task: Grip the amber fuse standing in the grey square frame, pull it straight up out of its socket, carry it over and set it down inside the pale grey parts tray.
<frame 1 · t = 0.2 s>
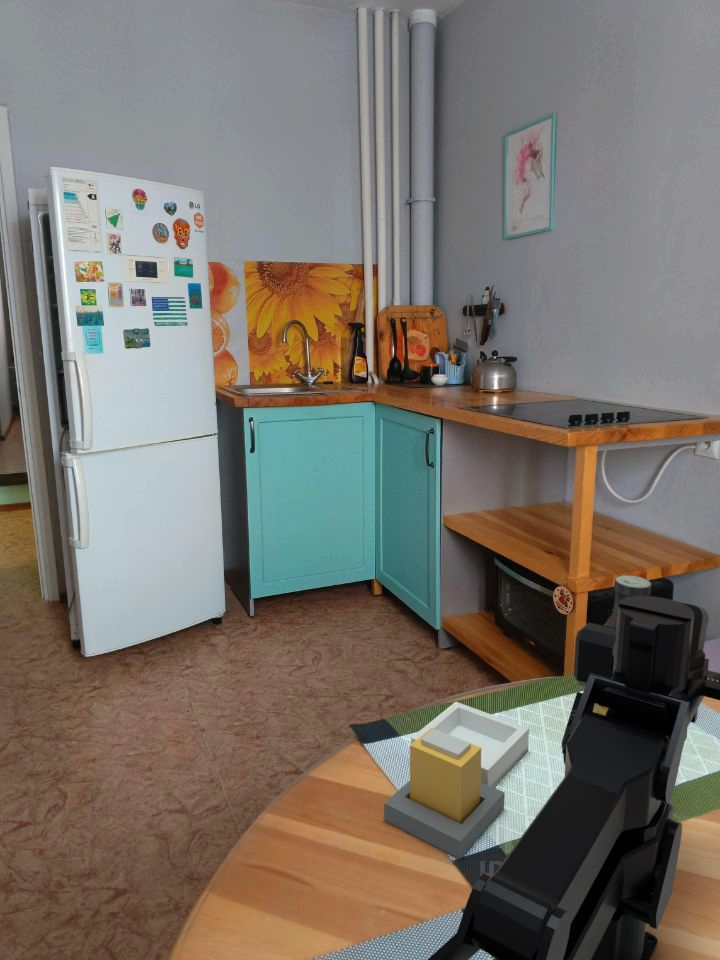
hand: (695, 648, 74), 17 cm above the table, tool horizontal, fingers open, 9 cm apart
sauce bottle: (617, 732, 89), on the table
fuse: (444, 815, 74), on the table
grey square frame: (444, 814, 74), on the table
parts tray: (470, 755, 84), on the table
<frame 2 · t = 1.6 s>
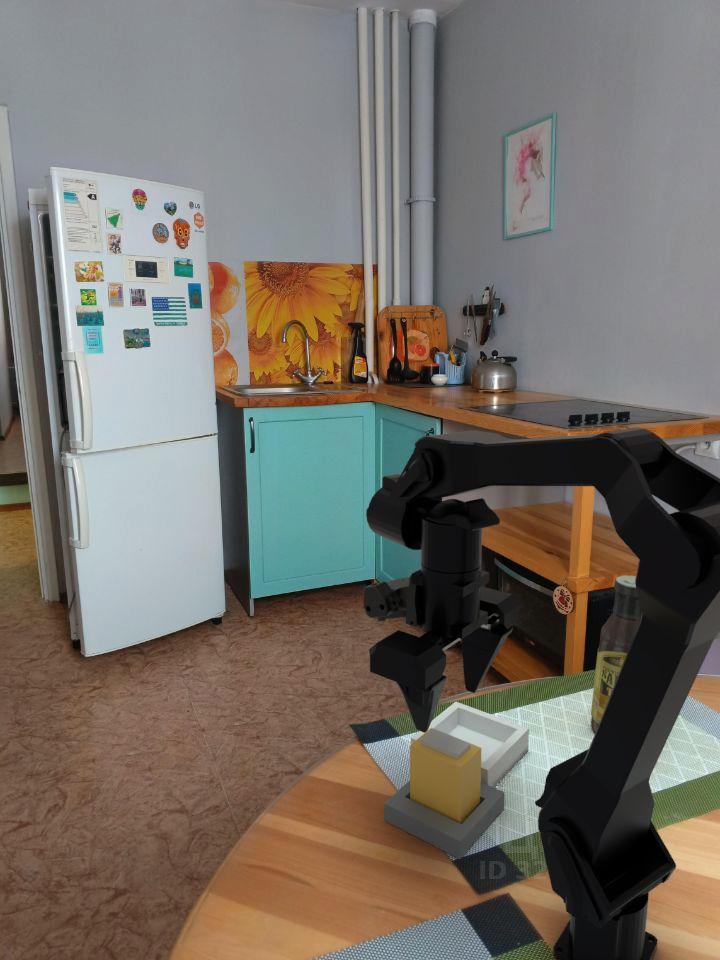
hand: (447, 709, 72), 12 cm above the table, tool pointing down, fingers open, 9 cm apart
nothing on the table moved.
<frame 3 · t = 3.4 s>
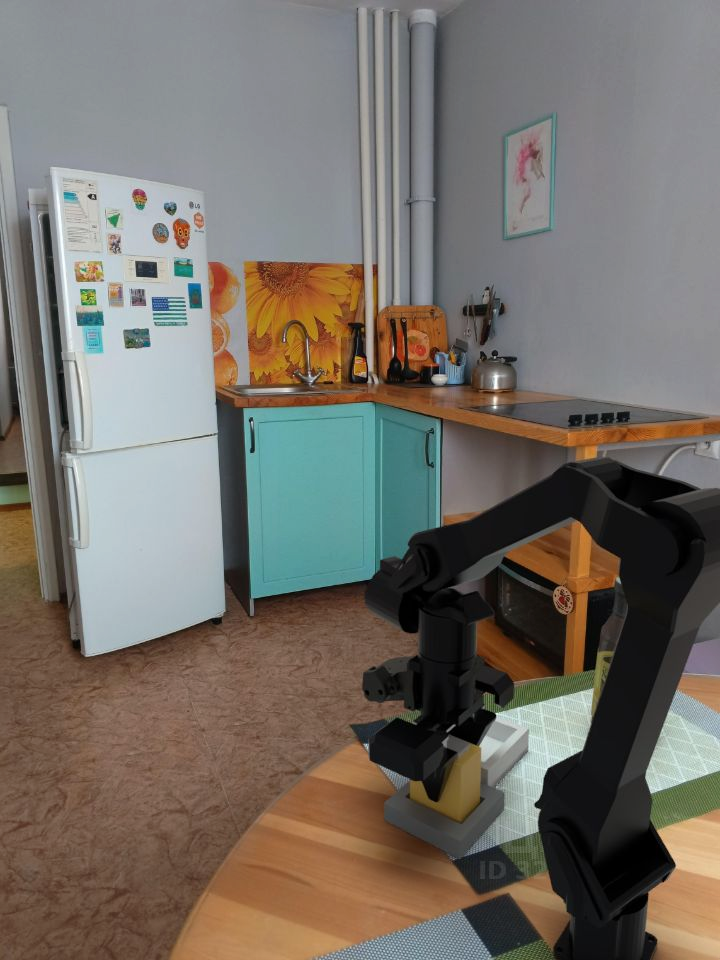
hand: (445, 789, 74), 3 cm above the table, tool pointing down, fingers closed on fuse, 4 cm apart
fuse: (444, 814, 74), on the table, touching gripper
everything else where it was.
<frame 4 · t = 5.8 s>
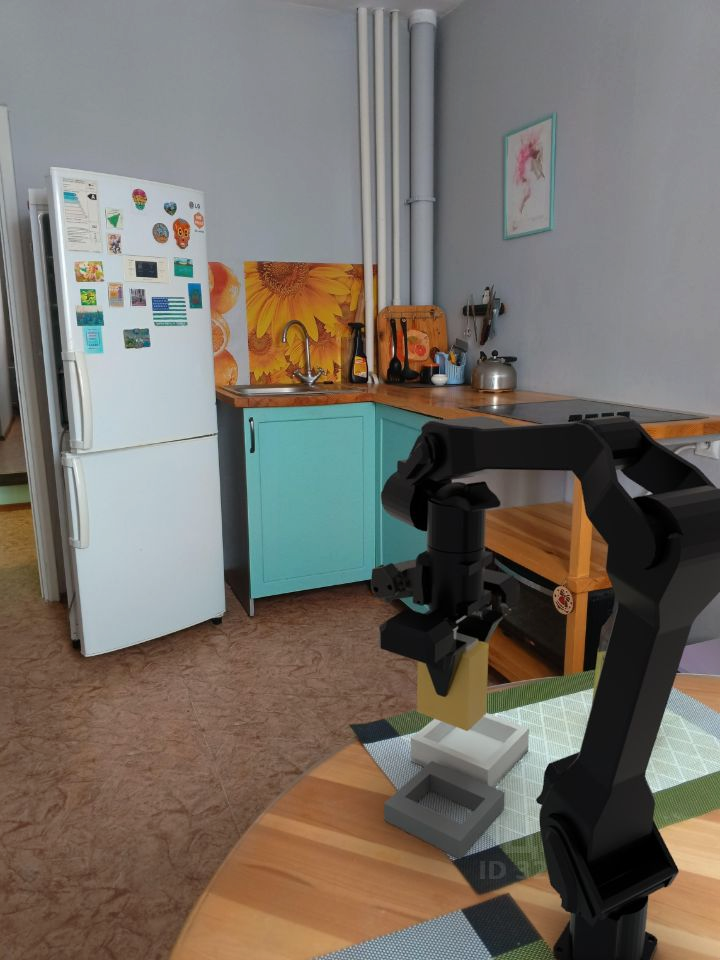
hand: (452, 686, 74), 13 cm above the table, tool pointing down, fingers closed on fuse, 4 cm apart
fuse: (451, 712, 75), point 10 cm above the table, touching gripper
everything else where it was.
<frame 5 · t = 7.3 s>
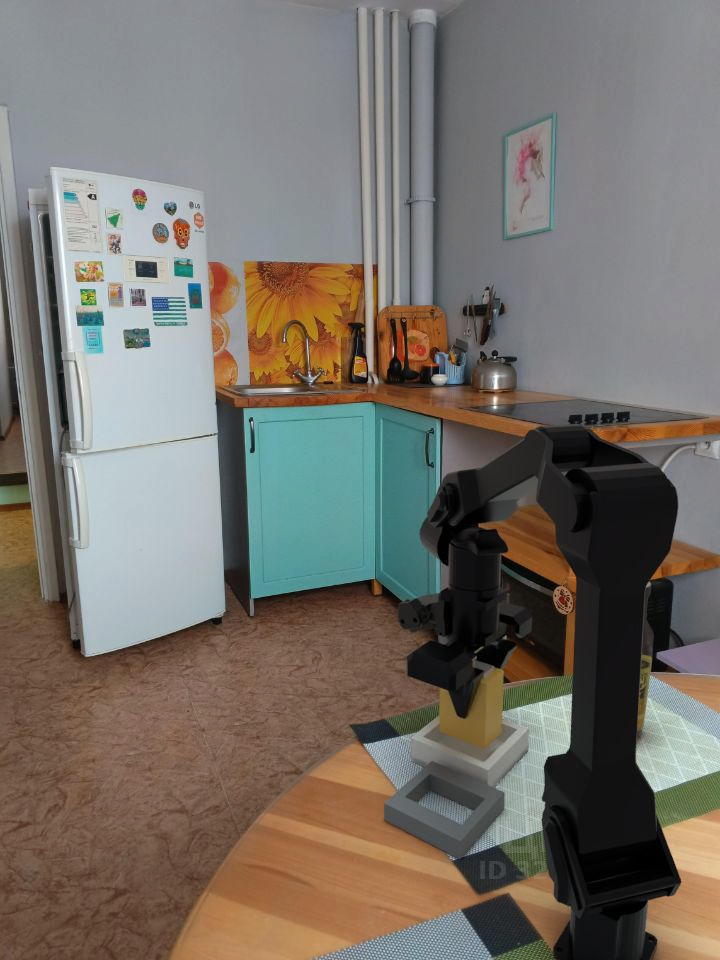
hand: (471, 708, 83), 6 cm above the table, tool pointing down, fingers closed on fuse, 4 cm apart
fuse: (470, 732, 83), point 3 cm above the table, touching gripper
everything else where it was.
when the fingers open (5 cm above the table, at t = 8.3 s): fuse drops 1 cm, resting on parts tray.
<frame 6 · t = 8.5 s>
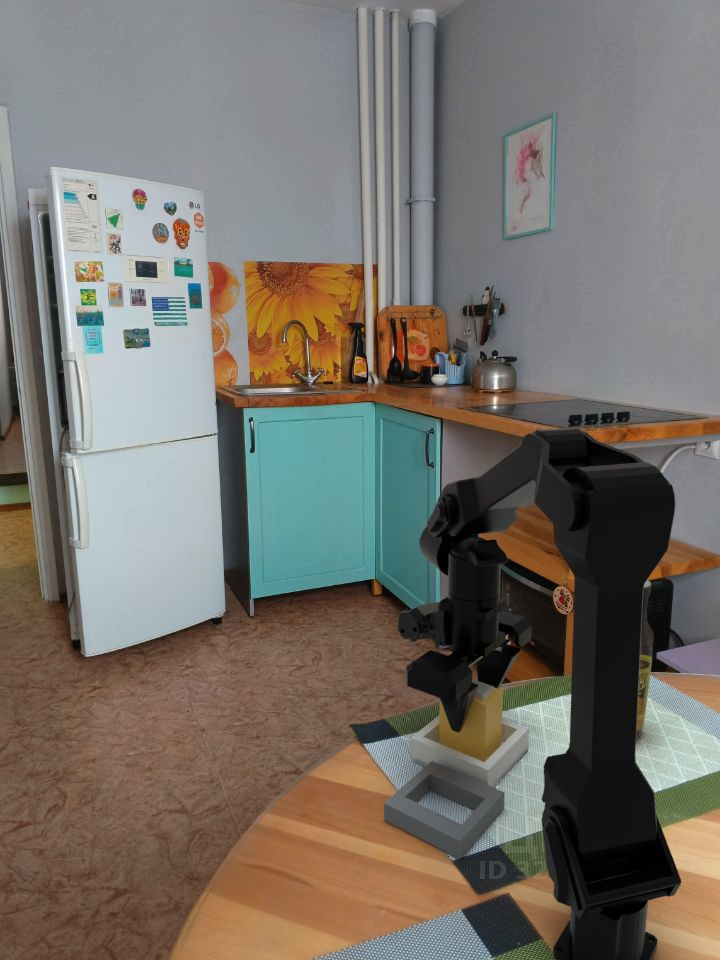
hand: (470, 717, 83), 5 cm above the table, tool pointing down, fingers open, 6 cm apart
fuse: (469, 751, 84), point 1 cm above the table, touching parts tray
everything else where it was.
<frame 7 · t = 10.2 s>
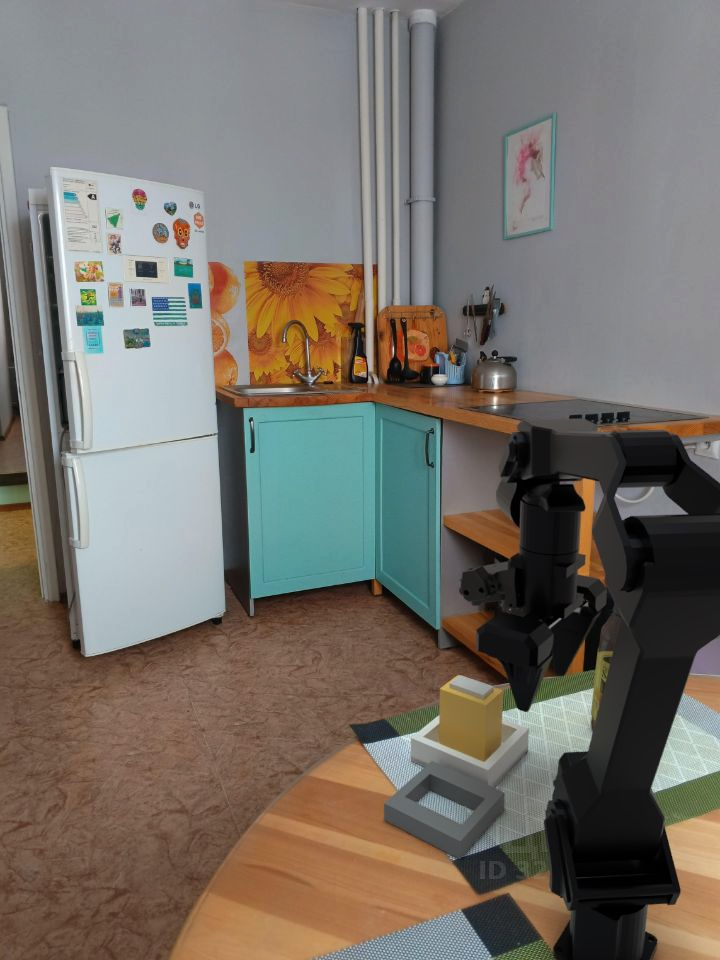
hand: (542, 691, 74), 13 cm above the table, tool pointing down, fingers open, 9 cm apart
nothing on the table moved.
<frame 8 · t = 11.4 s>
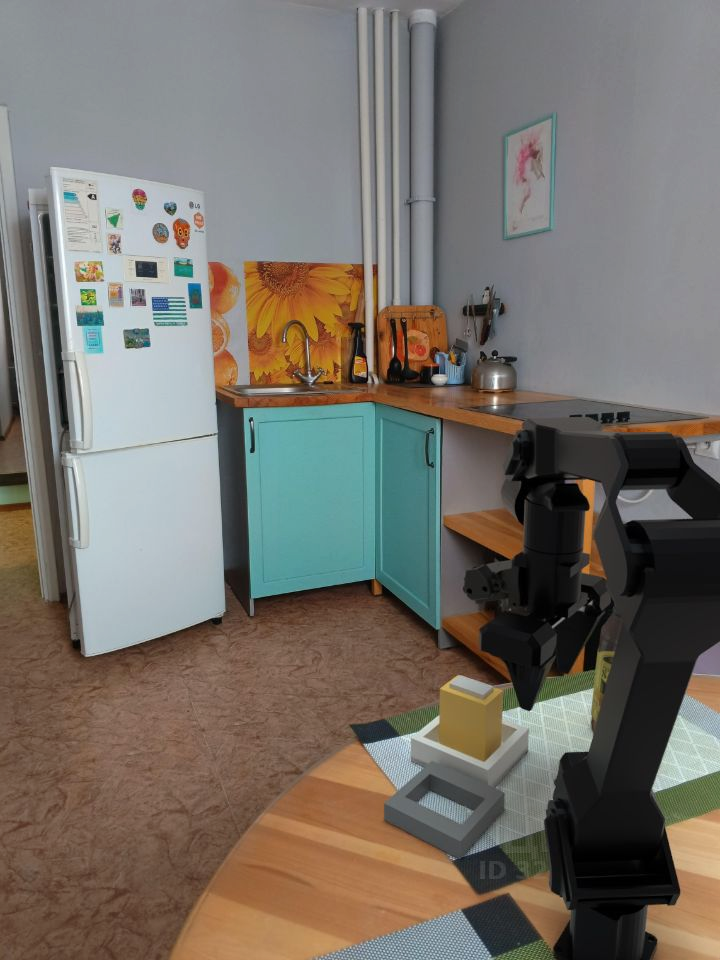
hand: (545, 690, 73), 13 cm above the table, tool pointing down, fingers open, 9 cm apart
nothing on the table moved.
at the end: fuse 0.0 cm off-centre on the parts tray, point 0.6 cm above the parts tray's base; the gripper is holding nothing; fuse touching parts tray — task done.
